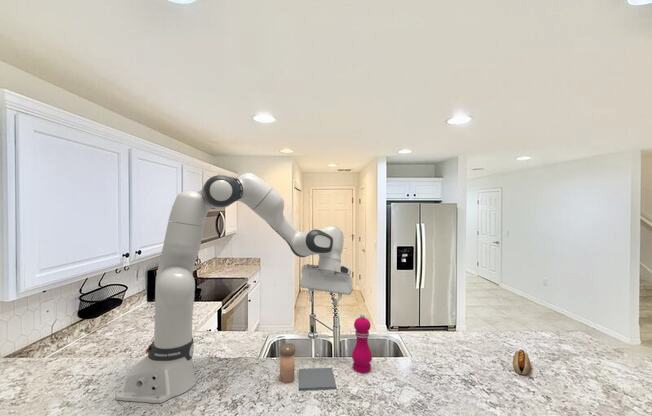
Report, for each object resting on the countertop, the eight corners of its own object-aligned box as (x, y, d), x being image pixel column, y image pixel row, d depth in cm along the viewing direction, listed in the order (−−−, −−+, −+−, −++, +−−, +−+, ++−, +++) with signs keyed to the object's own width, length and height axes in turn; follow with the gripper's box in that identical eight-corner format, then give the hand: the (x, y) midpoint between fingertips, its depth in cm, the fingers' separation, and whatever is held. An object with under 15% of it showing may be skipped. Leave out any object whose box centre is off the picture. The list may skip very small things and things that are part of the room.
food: (530, 379, 105) (530, 364, 105) (512, 374, 108) (512, 360, 108) (530, 363, 116) (530, 350, 116) (513, 359, 119) (513, 346, 119)
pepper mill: (371, 375, 106) (371, 317, 106) (350, 372, 107) (351, 316, 108) (372, 365, 113) (372, 311, 113) (353, 362, 114) (353, 309, 115)
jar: (278, 384, 99) (278, 350, 100) (279, 375, 105) (279, 343, 105) (295, 383, 100) (295, 349, 100) (295, 374, 105) (295, 342, 106)
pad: (299, 390, 96) (299, 388, 96) (298, 371, 108) (298, 368, 108) (336, 389, 97) (336, 386, 97) (331, 369, 109) (332, 367, 109)
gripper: (302, 261, 116) (296, 299, 111) (355, 270, 116) (350, 307, 111) (303, 264, 122) (296, 299, 117) (352, 272, 122) (348, 308, 117)
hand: (323, 303), depth 114 cm, fingers open, 8 cm apart
